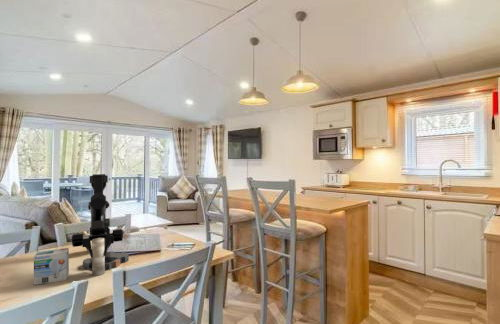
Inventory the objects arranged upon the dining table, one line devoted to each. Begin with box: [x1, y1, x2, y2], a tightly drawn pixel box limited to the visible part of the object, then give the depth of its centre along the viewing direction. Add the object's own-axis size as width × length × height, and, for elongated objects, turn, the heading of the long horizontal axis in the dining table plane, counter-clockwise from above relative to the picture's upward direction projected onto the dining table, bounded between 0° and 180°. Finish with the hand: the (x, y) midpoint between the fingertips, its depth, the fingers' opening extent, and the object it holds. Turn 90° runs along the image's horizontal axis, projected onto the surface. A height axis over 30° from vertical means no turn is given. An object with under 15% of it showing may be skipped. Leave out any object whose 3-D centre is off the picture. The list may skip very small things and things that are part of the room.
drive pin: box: [91, 238, 106, 277], centre depth 115 cm, size 4×4×14 cm
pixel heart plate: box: [82, 250, 130, 271], centre depth 127 cm, size 15×15×2 cm
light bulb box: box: [33, 247, 70, 286], centre depth 110 cm, size 11×7×11 cm, turn 117°
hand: (98, 256), depth 114 cm, fingers closed on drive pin, 4 cm apart
